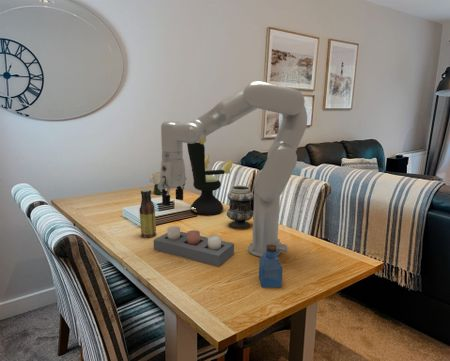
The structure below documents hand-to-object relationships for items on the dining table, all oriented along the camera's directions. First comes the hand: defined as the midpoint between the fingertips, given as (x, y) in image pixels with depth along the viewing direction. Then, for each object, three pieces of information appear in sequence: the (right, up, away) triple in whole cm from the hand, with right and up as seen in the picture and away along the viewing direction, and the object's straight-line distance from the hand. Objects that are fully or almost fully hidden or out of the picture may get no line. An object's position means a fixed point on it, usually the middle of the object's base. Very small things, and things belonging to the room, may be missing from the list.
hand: (173, 202), depth 129 cm
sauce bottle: (-13, -15, +15) cm, 25 cm away
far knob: (0, -15, +3) cm, 15 cm away
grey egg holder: (+8, -19, 0) cm, 20 cm away
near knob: (+16, -17, -5) cm, 24 cm away
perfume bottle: (+34, -24, -21) cm, 46 cm away
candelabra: (+9, -8, +47) cm, 48 cm away
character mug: (-21, 0, +79) cm, 82 cm away
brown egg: (+8, -16, -1) cm, 18 cm away
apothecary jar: (+26, -13, +28) cm, 40 cm away
